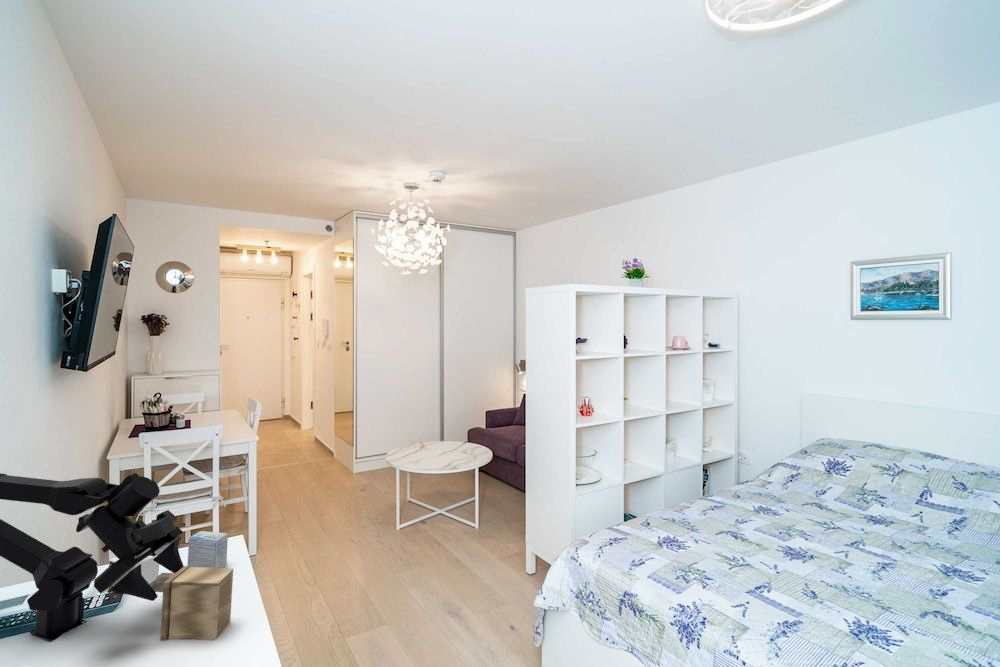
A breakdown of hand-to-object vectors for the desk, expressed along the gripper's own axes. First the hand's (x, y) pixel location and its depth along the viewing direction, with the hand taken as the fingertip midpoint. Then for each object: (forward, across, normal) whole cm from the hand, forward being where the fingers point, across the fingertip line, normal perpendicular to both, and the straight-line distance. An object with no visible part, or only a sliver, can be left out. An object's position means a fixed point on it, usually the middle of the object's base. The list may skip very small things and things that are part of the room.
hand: (170, 586), depth 99 cm
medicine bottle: (-6, +17, +20) cm, 27 cm away
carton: (+11, 0, +2) cm, 11 cm away
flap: (+6, 0, +7) cm, 9 cm away
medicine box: (+2, +26, +12) cm, 29 cm away
